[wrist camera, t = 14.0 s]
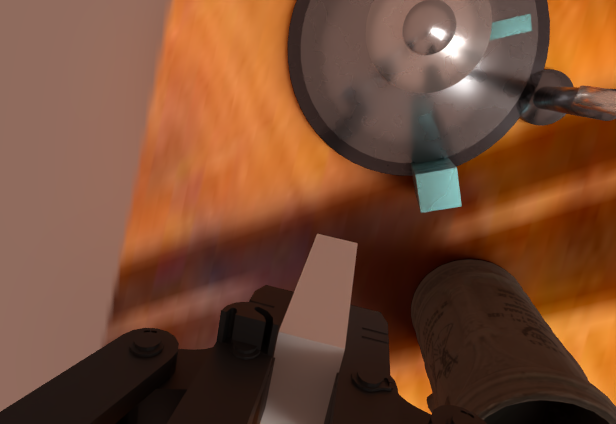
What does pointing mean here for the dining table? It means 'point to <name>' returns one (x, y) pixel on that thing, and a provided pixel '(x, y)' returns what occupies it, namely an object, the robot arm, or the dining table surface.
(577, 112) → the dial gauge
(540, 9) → the base plate
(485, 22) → the cover
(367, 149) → the turntable
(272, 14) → the dining table surface
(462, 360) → the beer stein
